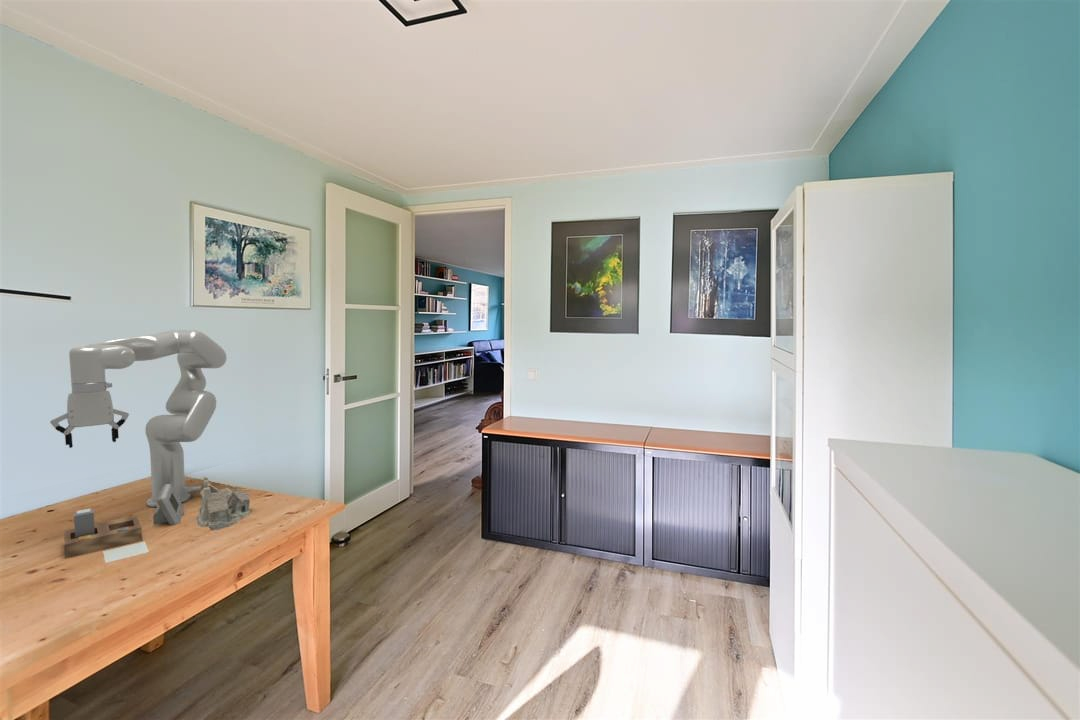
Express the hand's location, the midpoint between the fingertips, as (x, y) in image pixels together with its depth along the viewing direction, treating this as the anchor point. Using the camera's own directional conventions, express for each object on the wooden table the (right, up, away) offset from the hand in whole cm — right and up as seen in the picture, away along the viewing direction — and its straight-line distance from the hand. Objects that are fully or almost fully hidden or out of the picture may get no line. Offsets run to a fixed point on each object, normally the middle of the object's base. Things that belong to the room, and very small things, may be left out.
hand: (93, 444), depth 145 cm
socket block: (+9, -29, -6) cm, 31 cm away
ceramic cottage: (+31, -28, +14) cm, 44 cm away
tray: (+21, -29, -12) cm, 38 cm away
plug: (+7, -28, -9) cm, 30 cm away
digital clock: (+15, -28, +12) cm, 33 cm away
